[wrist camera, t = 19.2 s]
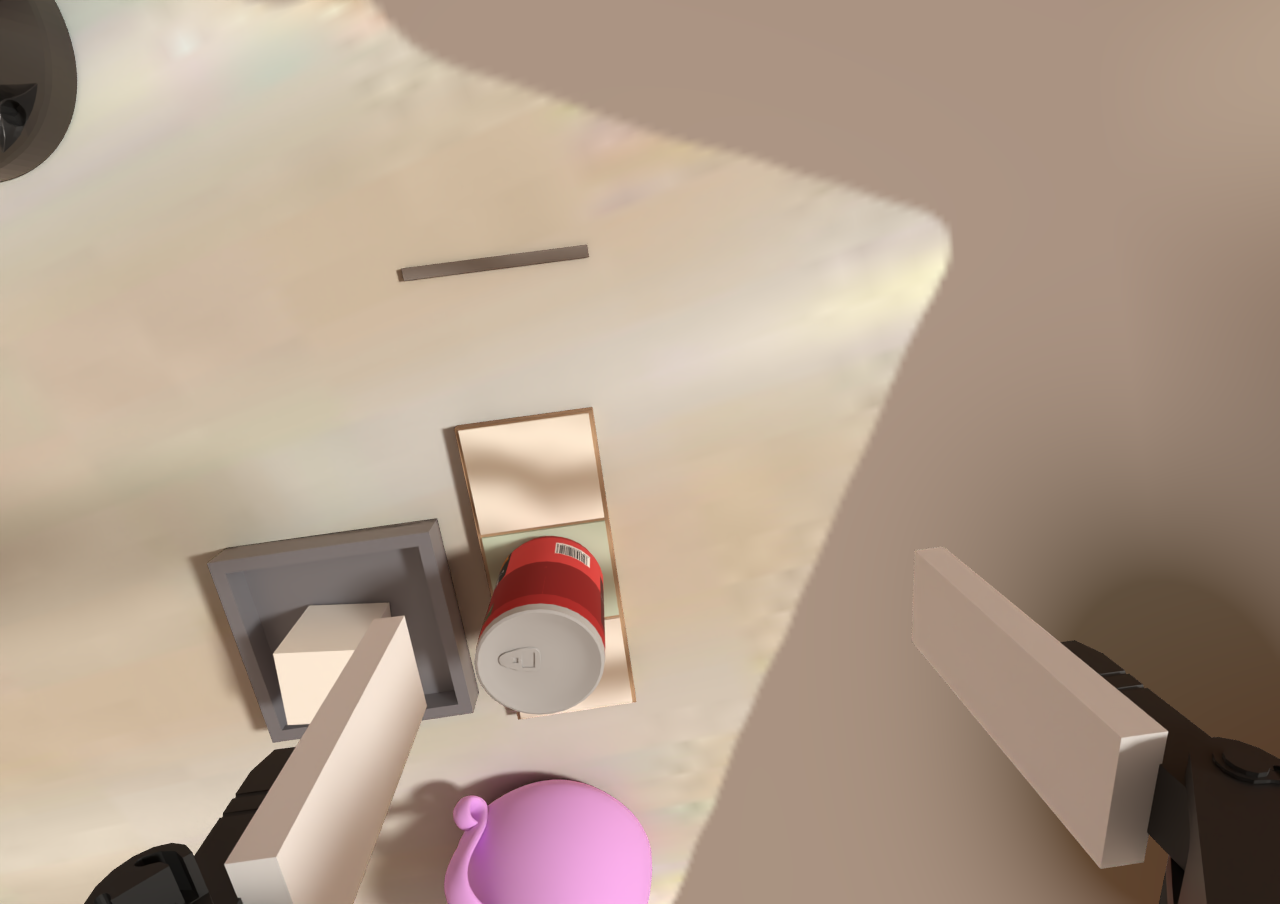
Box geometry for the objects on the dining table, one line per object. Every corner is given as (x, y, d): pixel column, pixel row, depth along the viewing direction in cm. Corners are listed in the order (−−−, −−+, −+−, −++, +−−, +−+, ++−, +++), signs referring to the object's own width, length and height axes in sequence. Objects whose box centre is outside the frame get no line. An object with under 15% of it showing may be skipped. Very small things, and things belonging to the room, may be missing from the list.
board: (403, 268, 42) (397, 268, 41) (587, 244, 43) (586, 244, 42) (504, 713, 53) (502, 723, 52) (650, 691, 54) (651, 701, 53)
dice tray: (226, 547, 47) (206, 563, 45) (437, 518, 48) (428, 531, 45) (287, 720, 52) (272, 742, 50) (478, 692, 53) (473, 712, 50)
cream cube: (270, 653, 42) (285, 726, 44) (364, 649, 43) (375, 721, 45) (307, 604, 48) (319, 671, 50) (389, 601, 49) (398, 667, 51)
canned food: (487, 545, 47) (456, 626, 37) (590, 521, 47) (588, 595, 37) (515, 630, 50) (494, 729, 39) (613, 607, 50) (618, 700, 39)
